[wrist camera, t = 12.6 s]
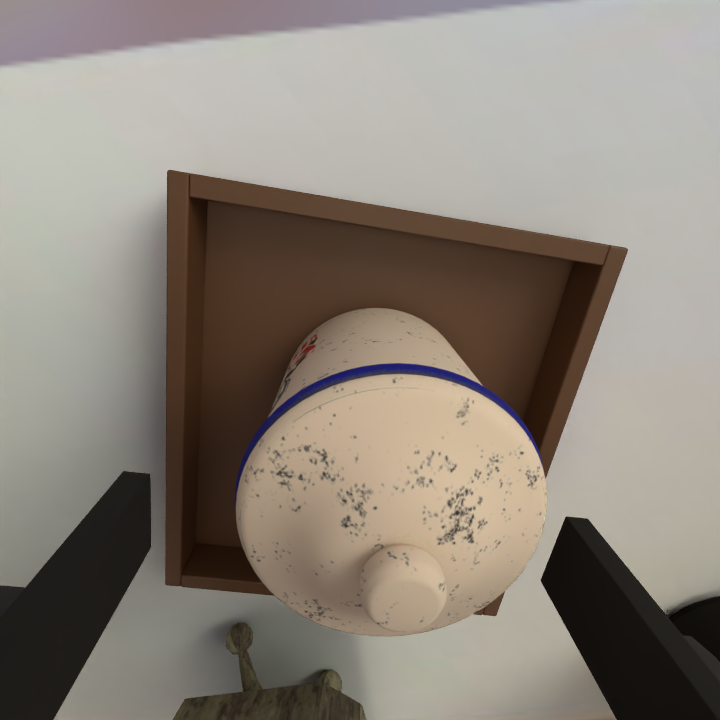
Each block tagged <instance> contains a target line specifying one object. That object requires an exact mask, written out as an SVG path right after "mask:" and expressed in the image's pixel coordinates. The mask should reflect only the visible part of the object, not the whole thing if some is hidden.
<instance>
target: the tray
mask: <svg viewBox="0 0 720 720" xmlns="http://www.w3.org/2000/svg"><path fill="white" fill-rule="evenodd" d="M627 251H628V249H627V248H624V247H618V246H612V245H606V244H600V243H594V242H589V241H583V240H577V239H571V238H565V237H559V236H554V235H548V234H542V233H536V232H530V231H524V230H518V229H513V228H507V227H501V226H495V225H489V224H483V223H478V222H472V221H466V220H460V219H454V218H448V217H442V216H437V215H431V214H425V213H419V212H413V211H407V210H401V209H396V208H390V207H384V206H378V205H372V204H366V203H361V202H355V201H349V200H343V199H337V198H331V197H325V196H320V195H314V194H308V193H302V192H296V191H290V190H284V189H279V188H273V187H267V186H261V185H255V184H249V183H244V182H238V181H232V180H226V179H220V178H214V177H208V176H203V175H197V174H190V173H185V172H179V171H173V170H168V172H167V341H166V557H165V584H166V585H170V586H181V587H189V588H200V589H210V590H221V591H232V592H242V593H253V594H263V595H274V594H273V593H272V592H270V591H269V589H268V588H267V587H266V586H265V585H264V584H263V583H262V581H261V580H260V578H259V577H258V576H257V574H256V573H255V571H254V570H253V568H252V566H251V564H250V562H249V561H248V559H247V556H246V554H245V552H244V549H243V547H242V544H241V541H240V537H239V534H238V528H237V522H236V514H235V486H236V480H237V476H238V471H239V468H240V465H241V462H242V459H243V456H244V454H245V452H246V450H247V448H248V445H249V444H250V442H251V440H252V439H253V437H254V435H255V434H256V432H257V431H258V430H259V428H260V427H261V426H262V424H263V423H264V422H265V420H266V419H267V418H268V417H269V414H270V411H271V409H272V406H273V404H274V401H275V399H276V396H277V394H278V391H279V389H280V386H281V383H282V381H283V378H284V376H285V373H286V371H287V368H288V366H289V363H290V361H291V359H292V357H293V355H294V353H295V352H296V350H297V348H298V347H299V346H300V344H301V343H302V342H303V341H304V340H305V338H306V337H307V336H308V335H309V334H310V333H311V332H313V331H314V330H315V329H316V328H317V327H319V326H320V325H322V324H323V323H325V322H326V321H328V320H330V319H331V318H334V317H336V316H338V315H340V314H343V313H346V312H349V311H354V310H358V309H365V308H387V309H393V310H398V311H402V312H405V313H408V314H411V315H413V316H415V317H417V318H420V319H422V320H423V321H425V322H426V323H428V324H430V325H431V326H432V327H433V328H435V329H436V330H437V331H438V332H439V333H440V334H441V335H442V336H443V337H444V338H445V339H446V340H447V341H448V343H449V344H450V345H451V346H452V348H453V349H454V350H455V351H456V353H457V354H458V355H459V356H460V358H461V359H462V360H463V361H464V363H465V364H466V365H467V366H468V368H469V369H470V370H471V371H472V373H473V374H474V375H475V377H476V378H477V379H478V380H479V382H480V383H481V384H482V385H483V386H484V387H485V388H487V389H489V390H490V391H492V392H493V393H494V394H495V395H497V396H498V397H499V398H501V399H502V400H503V401H504V402H505V403H506V404H507V405H508V406H510V407H511V408H512V409H513V410H514V412H515V413H516V414H517V415H518V416H519V418H520V419H521V420H522V421H523V422H524V424H525V426H526V427H527V429H528V430H529V432H530V433H531V435H532V437H533V439H534V441H535V443H536V445H537V448H538V450H539V453H540V456H541V459H542V464H543V468H544V475H545V479H546V476H547V473H548V471H549V468H550V465H551V462H552V459H553V457H554V454H555V451H556V448H557V446H558V443H559V440H560V437H561V434H562V432H563V429H564V426H565V423H566V421H567V418H568V415H569V412H570V410H571V407H572V404H573V401H574V398H575V396H576V393H577V390H578V387H579V385H580V382H581V379H582V376H583V373H584V371H585V368H586V365H587V362H588V360H589V357H590V354H591V351H592V349H593V346H594V343H595V340H596V337H597V335H598V332H599V329H600V326H601V324H602V321H603V318H604V315H605V312H606V310H607V307H608V304H609V301H610V299H611V296H612V293H613V290H614V288H615V285H616V282H617V279H618V276H619V274H620V271H621V268H622V265H623V263H624V260H625V257H626V254H627ZM504 593H505V591H504V592H503V593H502V594H501V595H500V596H499V597H498V598H496V599H495V600H494V601H492V602H491V603H490V604H488V605H487V606H485V607H484V608H482V609H481V610H479V611H477V612H476V613H474V614H476V615H482V614H483V615H490V616H496V615H497V612H498V609H499V606H500V604H501V601H502V598H503V595H504ZM274 596H275V595H274Z"/></svg>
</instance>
